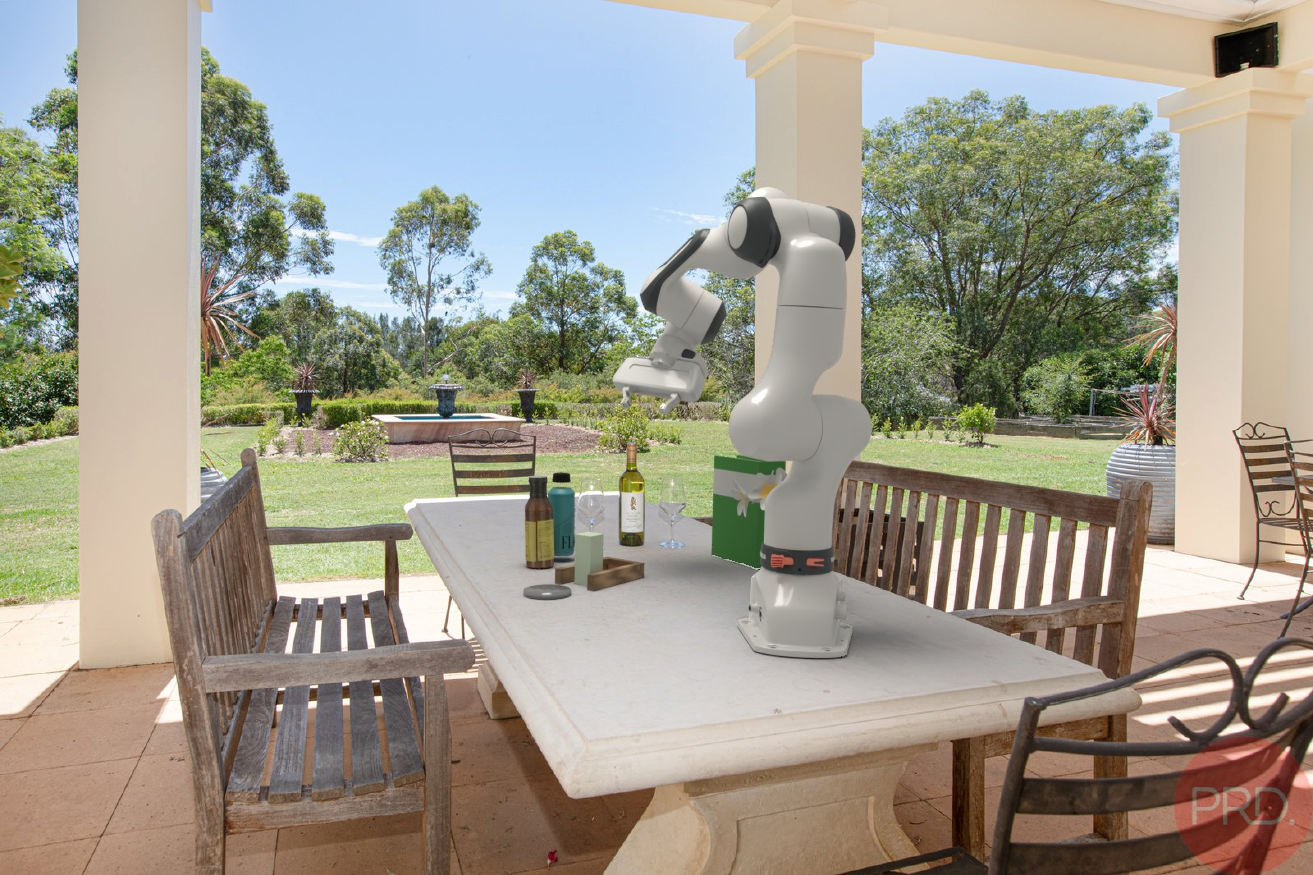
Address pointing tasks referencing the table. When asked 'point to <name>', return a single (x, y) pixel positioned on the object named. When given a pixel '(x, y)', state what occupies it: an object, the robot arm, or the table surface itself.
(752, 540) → the green gift bag
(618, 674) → the table surface
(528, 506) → the sauce bottle
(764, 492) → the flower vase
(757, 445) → the robot arm
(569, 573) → the channel
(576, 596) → the table surface
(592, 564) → the block
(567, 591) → the coaster
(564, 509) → the beverage bottle
